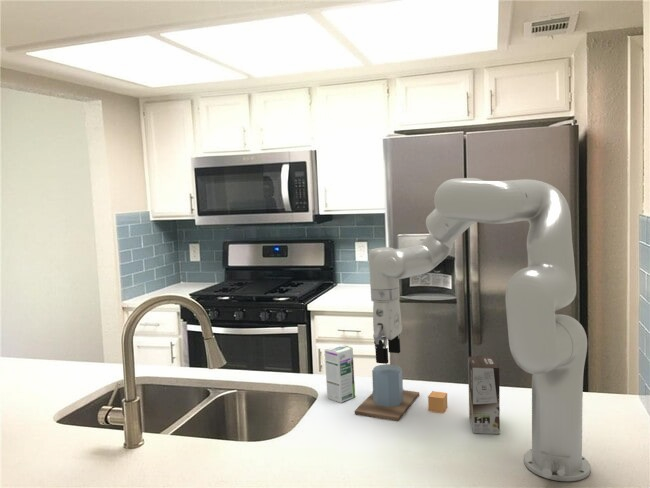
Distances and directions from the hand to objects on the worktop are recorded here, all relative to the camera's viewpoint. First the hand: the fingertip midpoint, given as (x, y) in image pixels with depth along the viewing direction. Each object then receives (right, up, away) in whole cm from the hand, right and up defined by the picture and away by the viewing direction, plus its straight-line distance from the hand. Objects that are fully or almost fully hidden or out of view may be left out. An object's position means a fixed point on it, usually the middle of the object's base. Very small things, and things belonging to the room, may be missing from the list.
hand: (388, 357), depth 146 cm
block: (+13, -13, -2) cm, 18 cm away
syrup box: (-13, -13, +8) cm, 20 cm away
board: (0, -13, +2) cm, 13 cm away
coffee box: (+22, -14, -13) cm, 29 cm away
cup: (0, -12, +2) cm, 12 cm away
